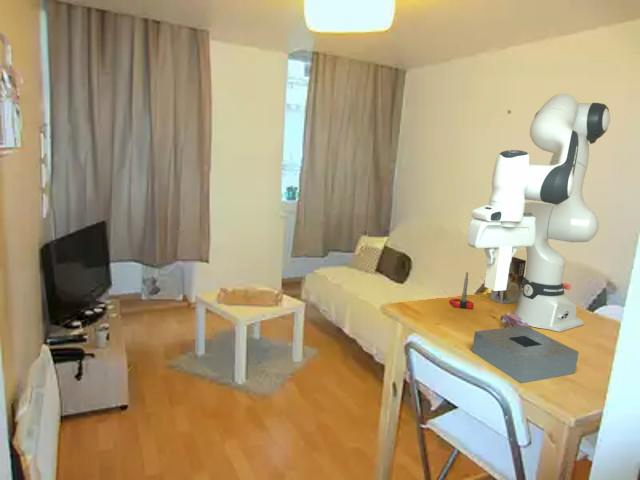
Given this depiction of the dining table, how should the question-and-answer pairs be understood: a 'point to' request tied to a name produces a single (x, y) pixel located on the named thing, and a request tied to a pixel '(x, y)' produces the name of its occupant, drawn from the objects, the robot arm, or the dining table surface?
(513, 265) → the coffee box
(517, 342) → the socket block
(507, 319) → the video game controller
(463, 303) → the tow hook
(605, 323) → the dining table surface
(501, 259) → the peg
